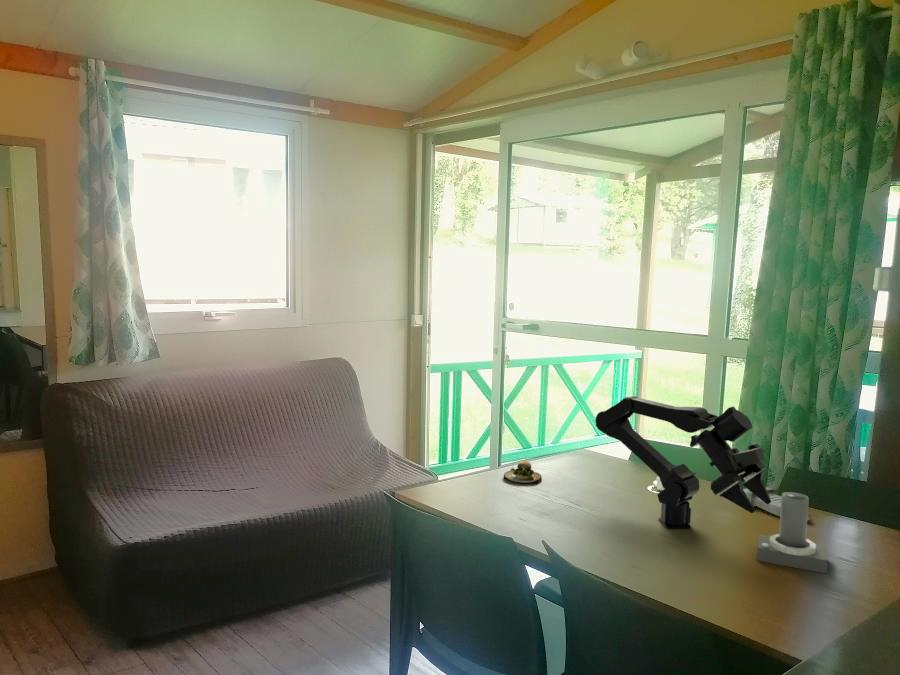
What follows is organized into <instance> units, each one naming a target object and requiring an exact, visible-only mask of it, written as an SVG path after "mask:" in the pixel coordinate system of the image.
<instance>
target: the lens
mask: <svg viewBox="0 0 900 675" xmlns="http://www.w3.org/2000/svg"><path fill="white" fill-rule="evenodd" d="M781 496H782V500H781V515H780V517H779V518H780V519H779V533H778V534H779V543H780V544H782V545H785V546H788V547H793V548H805V547H806V544H807V541H806V539H807V532H808V530H807V529H808V520H807V518H808V514H809V502H810V501H809V499H810V498H809V496H807V495H806V494H803V493H799V492H791V491H790V492H789V491H787V492H782V493H781Z"/></svg>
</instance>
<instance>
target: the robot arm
mask: <svg viewBox="0 0 900 675" xmlns="http://www.w3.org/2000/svg"><path fill="white" fill-rule="evenodd" d="M633 414H636V415H641V416H644V417H648V418H652V419H657V420H660V421H663V422H664V421H665V422H667V423H670V424H672V426H674V427H675V428H677V429H678V430H679V429H680V430H681V431H683V432H686V433H688V434H691V433H692V434H693V433H697V432H699V431H702V432H701V433H699V434H694V435H691V436H690V438H691V439H690V444H689V447H691V448H695V447H697V446H699V447H700V448H701V449H702V451H703V452H704V453H705V454H706V456H707V457H708V458H709V460H710V461H711V462H709V463H708V464H709V466H711V467H715V468H716V469H717V470H718V472H719V473H720V474H721V475H720V476H719V477H718V478H716V479H715V480H713V481H712V482H711V483H710V490H711V491H712V492H713V494H714V495H715V496H717V495H718V496H719V497H721V498H725V499H726V500H728V501H729V502H731V503H733V504H735V505H737V506H739V507H740V508H742V509H743V510H745V511H747V512H749V513H750V514H753V513H755V512H756V509H755V507H753V505H752V503H751V502H750V500H749V499H748V497H747V495H746V494H745V492H744V490H743V489H744V488H745V489H748V490H750V491H751V492H752V493H753V494H755V495H756V496H757V497H758V498H760V499H761V500H762V501H763V502H765V503H766V504H770V503H771V500H770V497H769V495H768V492H767V490H766V487H767V486H766V485H765V481H764V476H765V473H766V470H765V469H766V466H765V464H764V463H763V462H762V461H764V462H765V461H766V457H765V455H764V454H765V453H766V450H765V449H763V447H762V446H760V445H759V444H758V443H753V444H750V445H748V449H745V450H744V451H740V450H739V449H738V448H736V447H733V448H732V447H731V445H730V444H729V443H728V442H732V443H733V442H735V441H737V440H738V439H739V438H741V437H742V436H744V434H746V433H747V432H749V431H750V430H752V429H753V424H752V422H751V420H750V419H749V417H748V416H747V415H746V414H744V413H743V412H742V411H740V410H737V409H736V407H735V406H730V407H728V408H727V409H726V410H725V411H724V412H723V413H722V414H720V415H715V414H712V413H709V412H708V410H707V409H706V408H703V407H701V406H699V407H698V406H674V405H671V404H666V403H662V402H658V401H653V400H650V399H646V398H641V397H639V396H637V395H630V396H626V397H624V398H622V400H620V401H619V402H617V403H616V404H614V405H613V406H611V407H609V408H608V409H606V410H603V411H599V412H598V413H597V414H596V417H595V427H596V428H597V429H598V430H599V431H600V432H601V433H603V434H604V435H606V436H608V437H610V438H612V439H614V440H618V441H619V442H620V443H622V444H623V445H624V446H625V447H626V448H627V449H628V450H629V451H630V452H631V453H633V454H634V456H636V457H637V458H638V459H639V460H640V461H641V462H642V463H644V465H646V467H648V468H649V469H650V470H651V471H652V472H654V474H656V475H657V477H659V478H660V481H661V483H662V486H663V488H664V490H663V491H659V493H657V498H658V501H659V503H660V504H661V506H660V507H661V508H660V510H661V511H660V517H658V521H659V522H660V523H661V524H662V525H663V526H664V527H665V528H666V529H691V528H692V525H691V521H692V520H691V518H692V517H691V516H692V508H691V507H690V501H691V500H692V499H693V498H694V495H697V493H699V490H700V480H699V479H698V478H697V476H696V472H693V471H692V470H690V469H689V467H688V466H687V465H686V464H684V463H680V464H678V465H676V464H673V463H672V462H671V461H669V460H668V459H667V458H666V457H665V456H664V455H663V454H661V453H660V452H659V451H658V450H657V449H656V448H654V446H652V445H651V444H650V443H649V442H648V441H647V440H646V439H645V438H643V437H642V436H641V435H640V434H639V433H638V432H636V430H634V429H633V427H632V423H631V422H630V418H631V417H632V416H633ZM711 427H713V428H712V429H711V430H710V429H709V428H711Z"/></svg>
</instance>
